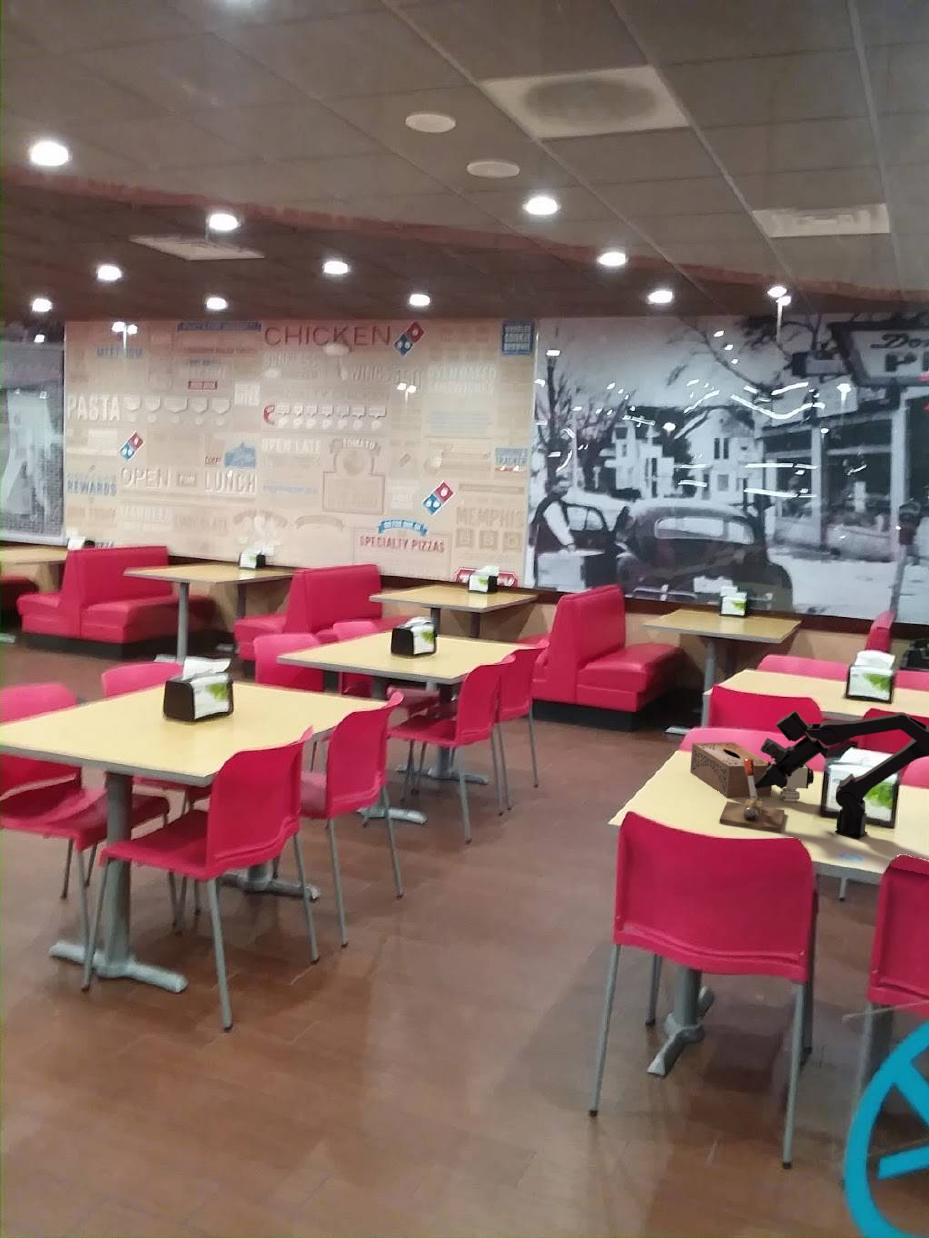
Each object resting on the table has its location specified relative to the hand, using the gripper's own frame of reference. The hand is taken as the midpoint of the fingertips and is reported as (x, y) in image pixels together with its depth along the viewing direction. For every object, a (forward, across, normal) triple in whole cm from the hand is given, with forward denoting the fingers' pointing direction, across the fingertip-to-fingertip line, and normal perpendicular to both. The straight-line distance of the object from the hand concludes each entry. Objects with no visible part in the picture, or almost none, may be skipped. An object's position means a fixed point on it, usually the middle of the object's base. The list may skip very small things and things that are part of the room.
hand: (755, 786), depth 286 cm
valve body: (+7, 0, +6) cm, 9 cm away
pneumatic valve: (+1, -23, +12) cm, 26 cm away
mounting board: (+7, 0, +6) cm, 9 cm away
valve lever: (+2, 0, +2) cm, 3 cm away
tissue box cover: (+14, -30, 0) cm, 34 cm away
